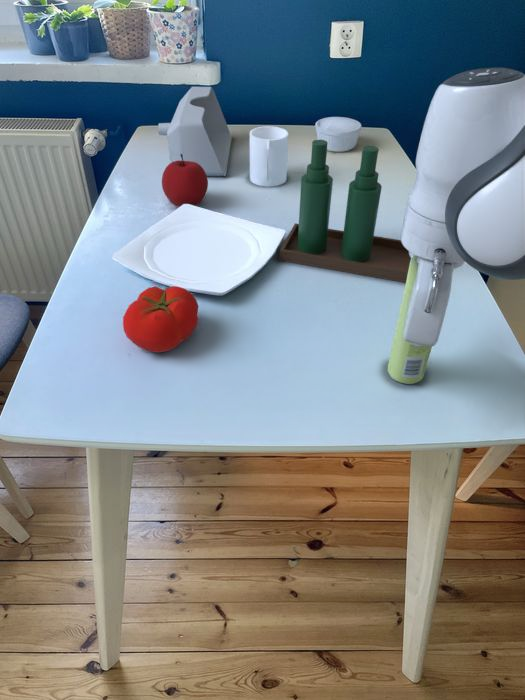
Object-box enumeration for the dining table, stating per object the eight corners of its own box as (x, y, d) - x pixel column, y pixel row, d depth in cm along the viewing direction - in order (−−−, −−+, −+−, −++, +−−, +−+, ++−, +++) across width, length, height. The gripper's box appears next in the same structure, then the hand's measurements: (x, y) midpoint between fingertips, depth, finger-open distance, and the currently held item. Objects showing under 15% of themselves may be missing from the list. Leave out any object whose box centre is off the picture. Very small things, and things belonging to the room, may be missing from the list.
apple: (157, 210, 109) (151, 162, 102) (173, 191, 115) (168, 144, 109) (200, 216, 107) (197, 167, 101) (214, 196, 114) (212, 149, 107)
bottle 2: (372, 250, 97) (389, 144, 84) (367, 265, 93) (385, 157, 81) (344, 245, 98) (356, 140, 85) (338, 260, 94) (350, 152, 82)
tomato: (116, 350, 77) (108, 314, 73) (153, 307, 85) (148, 271, 80) (177, 366, 75) (172, 330, 70) (210, 320, 82) (207, 285, 78)
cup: (248, 193, 115) (247, 147, 108) (250, 170, 124) (250, 125, 117) (286, 194, 115) (288, 147, 108) (286, 171, 124) (288, 126, 117)
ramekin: (308, 139, 139) (309, 117, 135) (349, 135, 141) (351, 114, 137) (322, 155, 130) (324, 133, 127) (365, 151, 133) (368, 130, 129)
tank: (169, 136, 139) (164, 84, 131) (231, 137, 139) (230, 85, 131) (153, 177, 121) (146, 120, 112) (225, 178, 120) (222, 120, 112)
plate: (294, 242, 100) (295, 229, 98) (226, 313, 84) (225, 299, 82) (184, 212, 108) (183, 199, 107) (103, 271, 92) (100, 257, 90)
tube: (390, 354, 77) (417, 232, 64) (426, 362, 76) (461, 239, 63) (383, 380, 73) (411, 256, 60) (422, 389, 72) (458, 264, 59)
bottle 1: (328, 242, 99) (339, 138, 86) (322, 257, 95) (332, 150, 82) (301, 238, 100) (307, 134, 87) (294, 252, 96) (299, 146, 84)
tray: (429, 255, 97) (432, 244, 96) (424, 286, 90) (427, 275, 88) (294, 233, 102) (294, 223, 101) (279, 260, 95) (279, 250, 94)
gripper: (470, 285, 51) (438, 387, 61) (474, 194, 66) (448, 287, 75) (403, 274, 53) (381, 375, 62) (422, 187, 67) (402, 279, 77)
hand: (418, 326), depth 69 cm, fingers closed on tube, 5 cm apart
